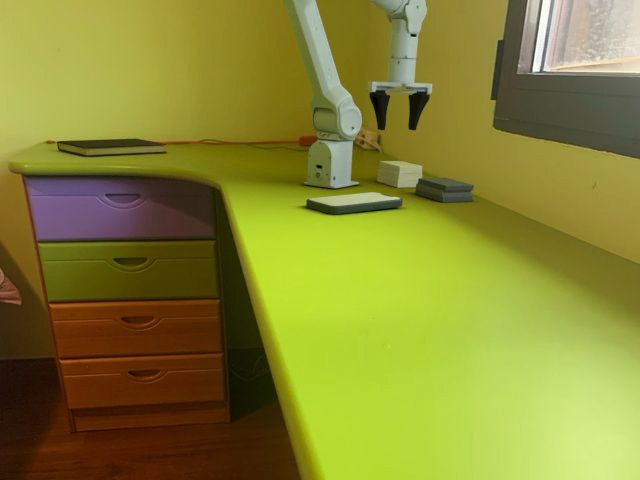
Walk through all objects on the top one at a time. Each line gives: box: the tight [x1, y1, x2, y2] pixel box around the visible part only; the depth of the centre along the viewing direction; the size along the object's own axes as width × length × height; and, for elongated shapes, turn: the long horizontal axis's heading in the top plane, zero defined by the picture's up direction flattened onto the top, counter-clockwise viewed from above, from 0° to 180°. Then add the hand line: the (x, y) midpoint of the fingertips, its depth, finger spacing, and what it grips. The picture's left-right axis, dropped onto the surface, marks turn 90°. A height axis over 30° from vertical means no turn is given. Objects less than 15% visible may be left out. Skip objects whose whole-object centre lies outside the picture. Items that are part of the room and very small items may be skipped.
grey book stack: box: [415, 177, 475, 203], centre depth 135 cm, size 10×7×3 cm
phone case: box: [305, 191, 404, 215], centre depth 121 cm, size 9×2×16 cm
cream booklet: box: [378, 160, 424, 174], centre depth 148 cm, size 9×6×1 cm, turn 24°
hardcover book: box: [56, 138, 167, 158], centre depth 183 cm, size 16×23×2 cm
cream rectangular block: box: [376, 167, 423, 189], centre depth 149 cm, size 9×6×3 cm, turn 24°
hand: (396, 130), depth 149 cm, fingers open, 7 cm apart
